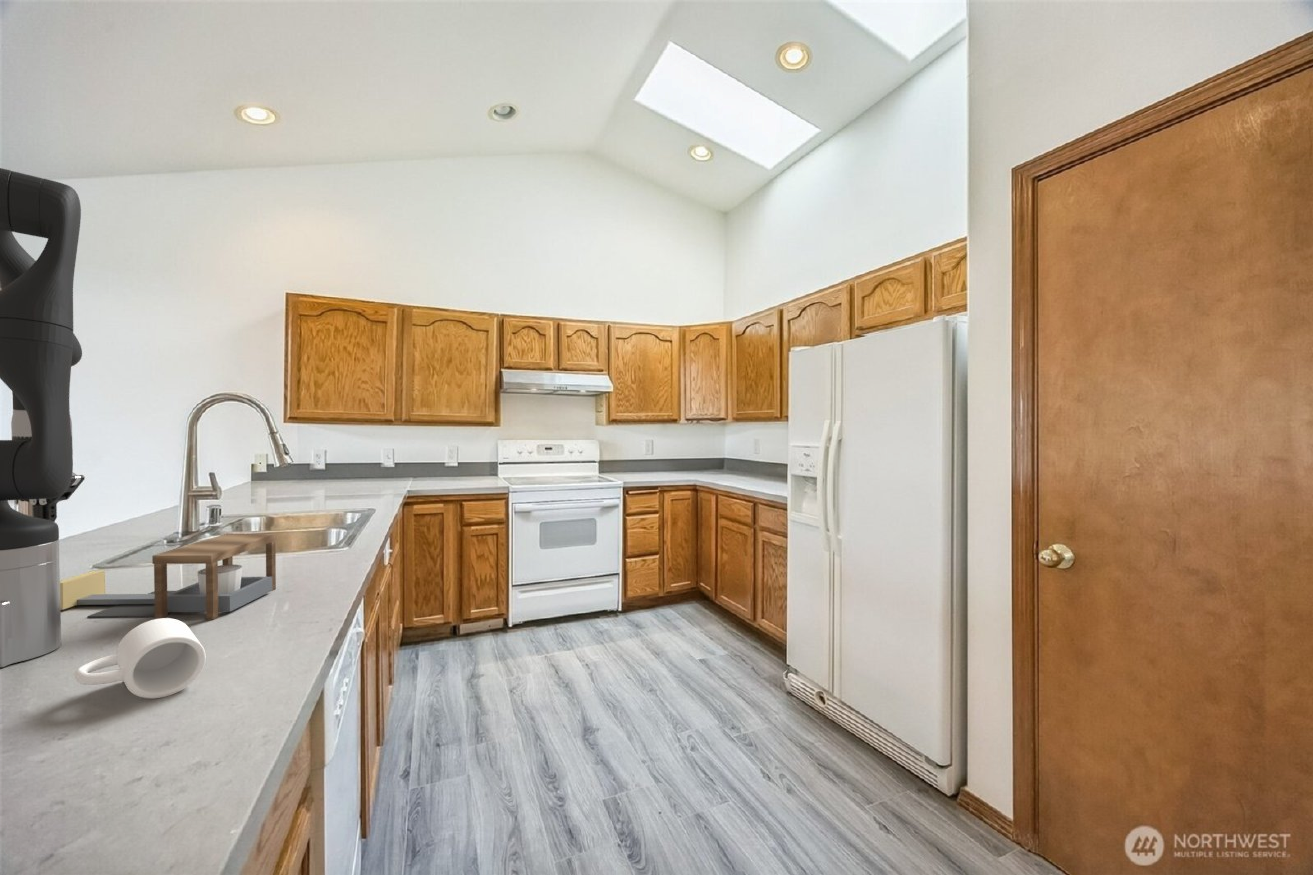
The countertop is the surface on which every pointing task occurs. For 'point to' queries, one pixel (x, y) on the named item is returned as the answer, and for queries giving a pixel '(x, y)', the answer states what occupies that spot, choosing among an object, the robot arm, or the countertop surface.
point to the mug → (151, 660)
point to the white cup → (223, 579)
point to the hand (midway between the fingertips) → (45, 523)
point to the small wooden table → (210, 565)
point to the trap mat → (127, 610)
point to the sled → (184, 600)
